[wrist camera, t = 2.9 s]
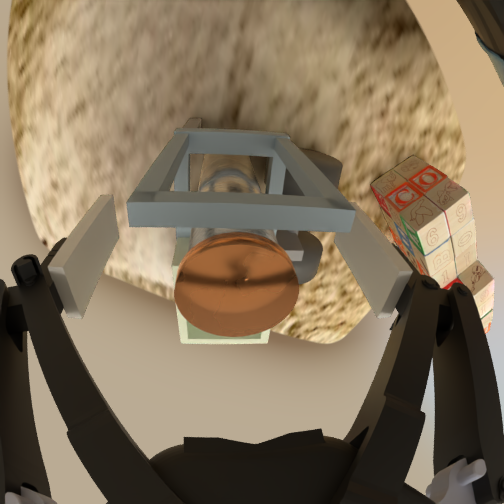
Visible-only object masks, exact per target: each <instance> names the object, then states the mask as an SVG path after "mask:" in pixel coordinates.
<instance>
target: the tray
mask: <svg viewBox="0 0 504 504" xmlns="http://www.w3.org/2000/svg"><path fill="white" fill-rule="evenodd" d="M189 240H190V238H188V237H178V239H177V243H176V248H175V253H174V258H173V263H172V273H173V283H174V289H175V283H176V277H177V271H178V268H179V265H180V263H181V261H182V259H183V258H184V256H185V255H186V254H187V252H188V247H189ZM176 310H177V317H178V325H179V332H180V339H181V343H188V344H189V343H190V344H257V343H267V342H268V338H269V333H270V329H268V330H266V331H263V332H261V333H257V334H254V335H249V336H243V337H225V336H218V335H213V334H210V333H207V332H205V331H202V330H200V329H198V328H197V327H195V326H193V325H192V324H191V323H189V322H188V321H187V320H186V319H185V318H184V317H183V315H182V314H181V313H180V311H179V309H178V307H177V305H176Z"/></svg>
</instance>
